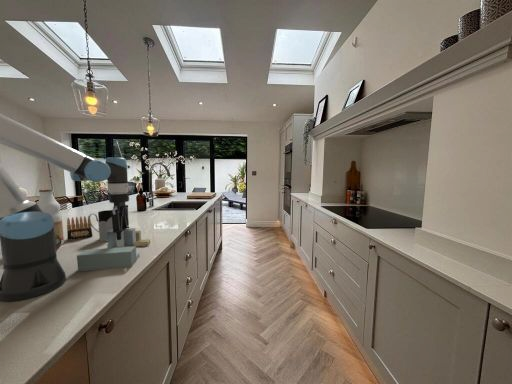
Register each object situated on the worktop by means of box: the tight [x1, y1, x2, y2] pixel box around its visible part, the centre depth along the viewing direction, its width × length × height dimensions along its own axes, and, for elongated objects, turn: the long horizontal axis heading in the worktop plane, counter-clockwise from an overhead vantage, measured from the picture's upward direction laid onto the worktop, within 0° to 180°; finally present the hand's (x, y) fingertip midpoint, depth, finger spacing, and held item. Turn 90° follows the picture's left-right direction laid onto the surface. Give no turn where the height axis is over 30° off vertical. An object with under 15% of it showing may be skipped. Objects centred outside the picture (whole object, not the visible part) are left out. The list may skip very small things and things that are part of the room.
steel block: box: [107, 228, 136, 248], centre depth 98 cm, size 4×10×7 cm, turn 102°
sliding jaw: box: [106, 230, 151, 248], centre depth 109 cm, size 7×18×6 cm, turn 102°
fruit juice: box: [36, 188, 65, 246], centre depth 107 cm, size 9×9×28 cm
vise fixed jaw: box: [76, 246, 141, 272], centre depth 87 cm, size 10×18×6 cm, turn 102°
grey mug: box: [88, 209, 113, 242], centre depth 119 cm, size 9×14×15 cm, turn 89°
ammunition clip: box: [66, 215, 94, 241], centre depth 120 cm, size 11×2×12 cm, turn 122°
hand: (122, 244), depth 99 cm, fingers closed on steel block, 4 cm apart
